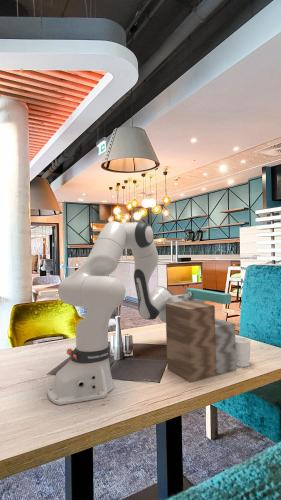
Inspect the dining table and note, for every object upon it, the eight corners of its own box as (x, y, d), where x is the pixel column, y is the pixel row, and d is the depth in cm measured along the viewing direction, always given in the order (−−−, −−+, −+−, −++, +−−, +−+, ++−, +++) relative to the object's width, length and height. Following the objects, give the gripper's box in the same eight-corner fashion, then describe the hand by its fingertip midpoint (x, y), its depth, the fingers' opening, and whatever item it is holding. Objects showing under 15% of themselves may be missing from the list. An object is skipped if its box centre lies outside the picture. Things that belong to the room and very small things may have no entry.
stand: (190, 382, 115) (188, 309, 115) (167, 369, 128) (165, 303, 128) (236, 369, 125) (234, 302, 125) (210, 358, 138) (208, 298, 138)
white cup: (252, 368, 126) (251, 342, 126) (231, 367, 128) (230, 342, 128) (249, 361, 134) (249, 337, 134) (230, 360, 136) (229, 336, 136)
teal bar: (224, 304, 122) (224, 295, 122) (185, 296, 143) (185, 288, 143) (231, 303, 124) (230, 294, 124) (192, 295, 145) (191, 288, 145)
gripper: (159, 301, 146) (174, 288, 136) (195, 296, 156) (211, 284, 145) (163, 314, 143) (178, 302, 133) (200, 308, 153) (216, 297, 143)
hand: (196, 292), depth 139 cm, fingers closed on teal bar, 3 cm apart
